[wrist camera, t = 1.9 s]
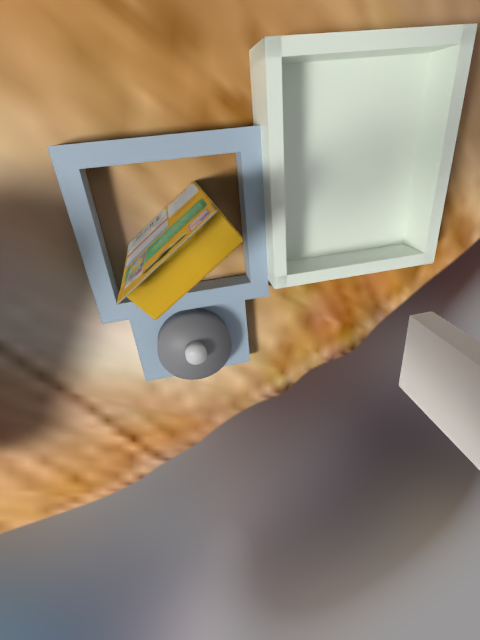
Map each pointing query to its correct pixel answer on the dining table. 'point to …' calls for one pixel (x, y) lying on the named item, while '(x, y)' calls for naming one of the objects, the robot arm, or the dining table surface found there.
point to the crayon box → (176, 251)
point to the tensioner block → (206, 296)
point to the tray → (356, 146)
